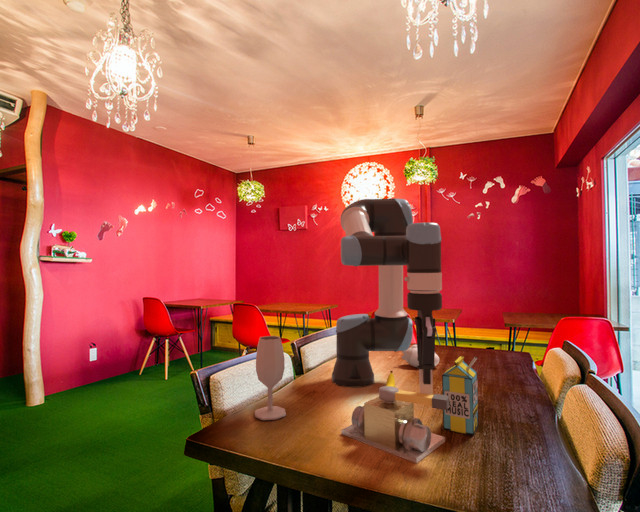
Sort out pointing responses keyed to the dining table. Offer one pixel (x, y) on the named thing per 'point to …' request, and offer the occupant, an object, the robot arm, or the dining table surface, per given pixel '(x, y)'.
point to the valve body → (392, 429)
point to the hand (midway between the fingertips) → (426, 397)
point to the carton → (461, 398)
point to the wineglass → (270, 373)
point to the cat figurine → (415, 356)
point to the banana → (390, 380)
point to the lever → (414, 397)
